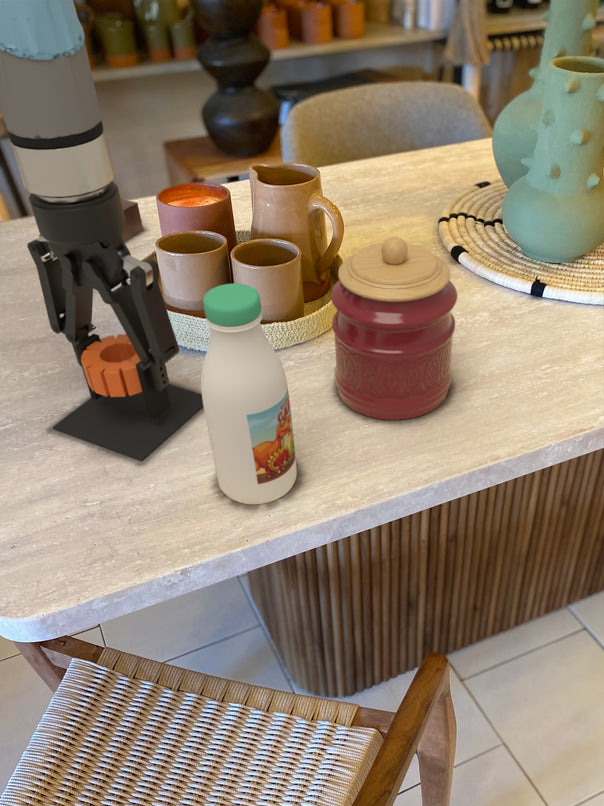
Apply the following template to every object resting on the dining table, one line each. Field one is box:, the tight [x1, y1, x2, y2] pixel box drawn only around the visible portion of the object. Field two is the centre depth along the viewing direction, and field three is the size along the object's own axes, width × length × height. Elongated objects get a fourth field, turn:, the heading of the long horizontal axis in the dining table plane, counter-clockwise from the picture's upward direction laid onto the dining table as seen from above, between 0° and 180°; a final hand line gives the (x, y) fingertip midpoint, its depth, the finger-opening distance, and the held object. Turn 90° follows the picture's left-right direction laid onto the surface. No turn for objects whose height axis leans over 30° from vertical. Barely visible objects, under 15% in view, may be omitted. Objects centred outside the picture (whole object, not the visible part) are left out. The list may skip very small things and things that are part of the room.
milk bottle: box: [200, 283, 298, 505], centre depth 69 cm, size 8×8×20 cm
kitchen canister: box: [330, 236, 458, 421], centre depth 81 cm, size 13×13×18 cm
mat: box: [52, 383, 204, 462], centre depth 83 cm, size 12×12×1 cm
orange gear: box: [81, 333, 151, 397], centre depth 79 cm, size 7×7×3 cm
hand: (130, 401), depth 82 cm, fingers closed on orange gear, 7 cm apart
